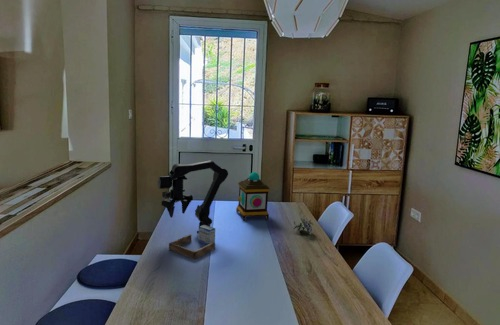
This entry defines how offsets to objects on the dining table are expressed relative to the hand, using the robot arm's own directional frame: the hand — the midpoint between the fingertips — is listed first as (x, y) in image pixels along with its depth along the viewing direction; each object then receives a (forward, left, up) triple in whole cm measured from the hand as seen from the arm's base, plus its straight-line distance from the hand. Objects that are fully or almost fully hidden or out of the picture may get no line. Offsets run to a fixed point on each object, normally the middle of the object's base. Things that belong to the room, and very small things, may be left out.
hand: (177, 215), depth 198 cm
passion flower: (-50, +53, -12) cm, 74 cm away
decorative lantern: (-57, +13, -12) cm, 60 cm away
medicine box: (-4, +18, -12) cm, 22 cm away
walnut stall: (+7, +18, -12) cm, 23 cm away
